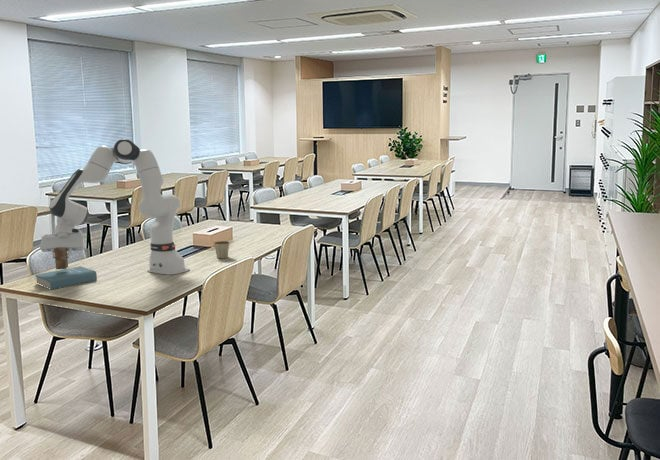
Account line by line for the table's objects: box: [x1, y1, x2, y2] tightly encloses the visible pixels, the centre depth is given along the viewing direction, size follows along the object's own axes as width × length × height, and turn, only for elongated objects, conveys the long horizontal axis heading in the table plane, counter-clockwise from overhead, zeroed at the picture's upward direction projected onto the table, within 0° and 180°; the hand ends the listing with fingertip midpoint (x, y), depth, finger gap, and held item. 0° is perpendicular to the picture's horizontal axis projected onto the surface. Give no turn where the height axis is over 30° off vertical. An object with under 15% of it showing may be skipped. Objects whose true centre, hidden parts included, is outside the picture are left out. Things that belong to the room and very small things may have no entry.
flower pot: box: [213, 240, 231, 259], centre depth 344 cm, size 9×9×9 cm
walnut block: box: [54, 247, 69, 270], centre depth 293 cm, size 4×4×10 cm
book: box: [34, 266, 98, 290], centre depth 293 cm, size 23×16×5 cm
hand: (60, 257), depth 292 cm, fingers closed on walnut block, 4 cm apart
